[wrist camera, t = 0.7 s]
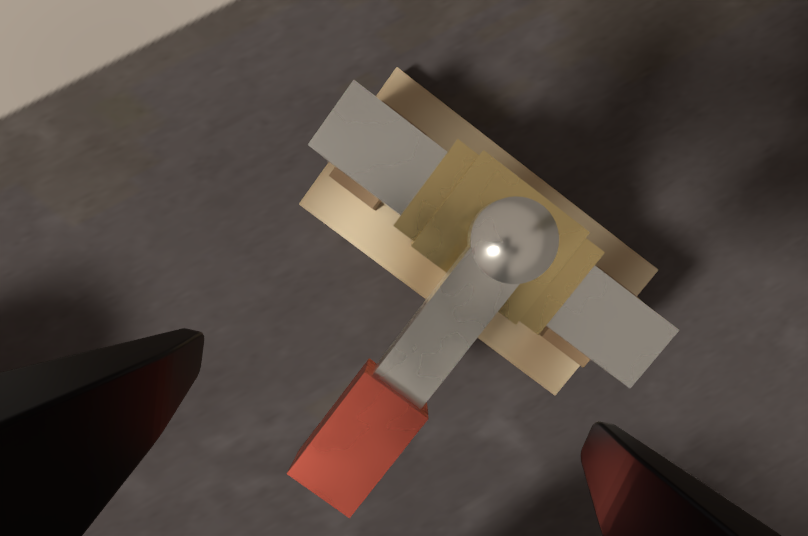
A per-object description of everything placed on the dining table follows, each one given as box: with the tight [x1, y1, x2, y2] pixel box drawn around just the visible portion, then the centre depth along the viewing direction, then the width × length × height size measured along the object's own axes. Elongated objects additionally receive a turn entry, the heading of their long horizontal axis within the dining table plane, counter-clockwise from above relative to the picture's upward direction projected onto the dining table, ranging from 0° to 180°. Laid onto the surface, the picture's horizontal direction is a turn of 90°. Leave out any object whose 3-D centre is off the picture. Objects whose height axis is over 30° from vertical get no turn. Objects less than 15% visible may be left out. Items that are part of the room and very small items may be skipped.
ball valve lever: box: [287, 196, 559, 518], centre depth 14 cm, size 12×3×1 cm, turn 143°
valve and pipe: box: [308, 80, 679, 388], centre depth 17 cm, size 16×4×5 cm, turn 53°
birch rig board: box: [299, 68, 658, 395], centre depth 19 cm, size 16×8×3 cm, turn 53°
